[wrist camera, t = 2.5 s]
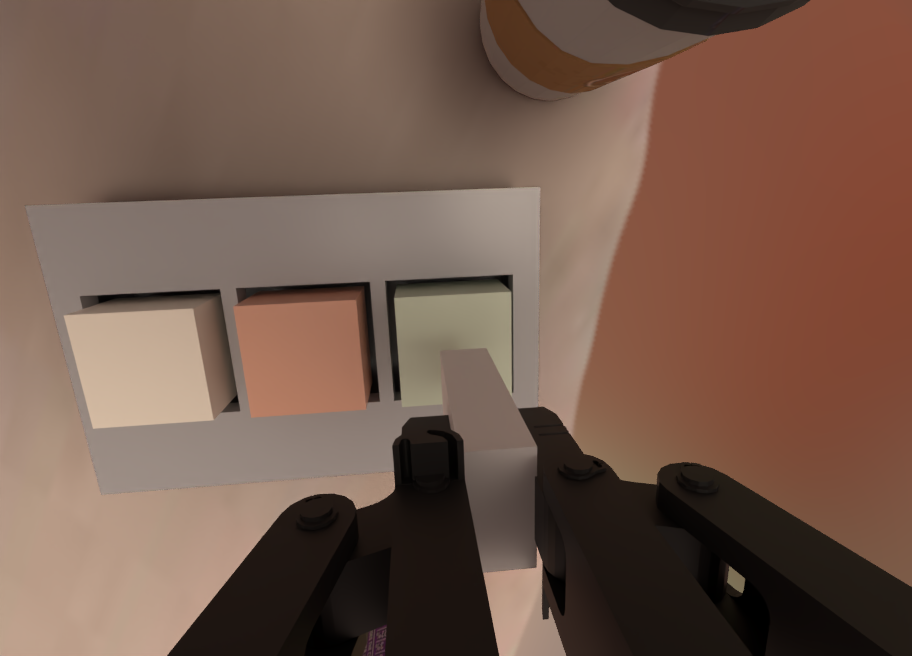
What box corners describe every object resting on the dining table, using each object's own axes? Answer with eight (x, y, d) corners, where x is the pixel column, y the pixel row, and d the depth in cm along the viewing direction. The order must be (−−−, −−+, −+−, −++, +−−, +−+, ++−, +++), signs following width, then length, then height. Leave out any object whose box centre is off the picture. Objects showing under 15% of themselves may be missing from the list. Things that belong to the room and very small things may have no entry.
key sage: (396, 284, 21) (394, 298, 18) (497, 279, 21) (511, 291, 18) (403, 379, 22) (401, 407, 19) (498, 373, 22) (511, 399, 19)
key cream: (114, 298, 20) (63, 315, 17) (224, 293, 20) (192, 308, 17) (137, 397, 21) (93, 428, 18) (240, 390, 21) (213, 420, 18)
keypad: (104, 204, 22) (24, 205, 17) (515, 189, 23) (540, 186, 19) (156, 442, 25) (101, 494, 20) (516, 416, 26) (537, 459, 22)
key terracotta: (258, 291, 20) (233, 306, 17) (364, 285, 20) (355, 299, 18) (273, 388, 21) (251, 417, 18) (372, 381, 22) (366, 409, 19)
